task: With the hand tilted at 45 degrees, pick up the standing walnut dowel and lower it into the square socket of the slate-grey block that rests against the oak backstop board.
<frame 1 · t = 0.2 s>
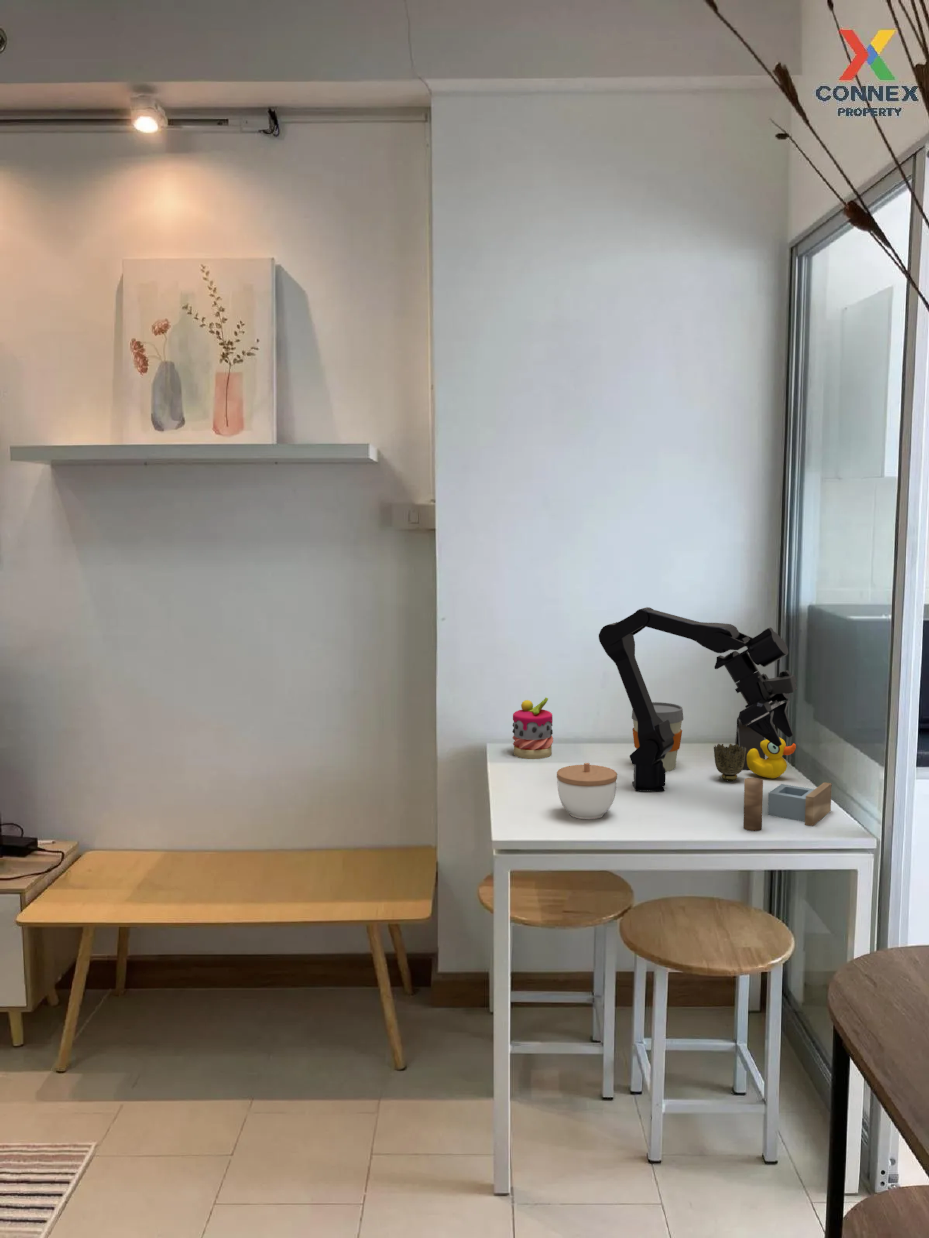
hand: (785, 741, 219), 15 cm above the table, tool tilted 35°, fingers open, 9 cm apart
cake: (532, 754, 268), on the table
backstop board: (818, 817, 214), on the table
dowel: (752, 828, 208), on the table
cup: (729, 780, 242), on the table
reusable coffee cup: (656, 767, 254), on the table
duckling: (769, 778, 244), on the table
socket block: (793, 814, 217), on the table
lidded bowl: (586, 815, 218), on the table
phone stand: (749, 766, 255), on the table
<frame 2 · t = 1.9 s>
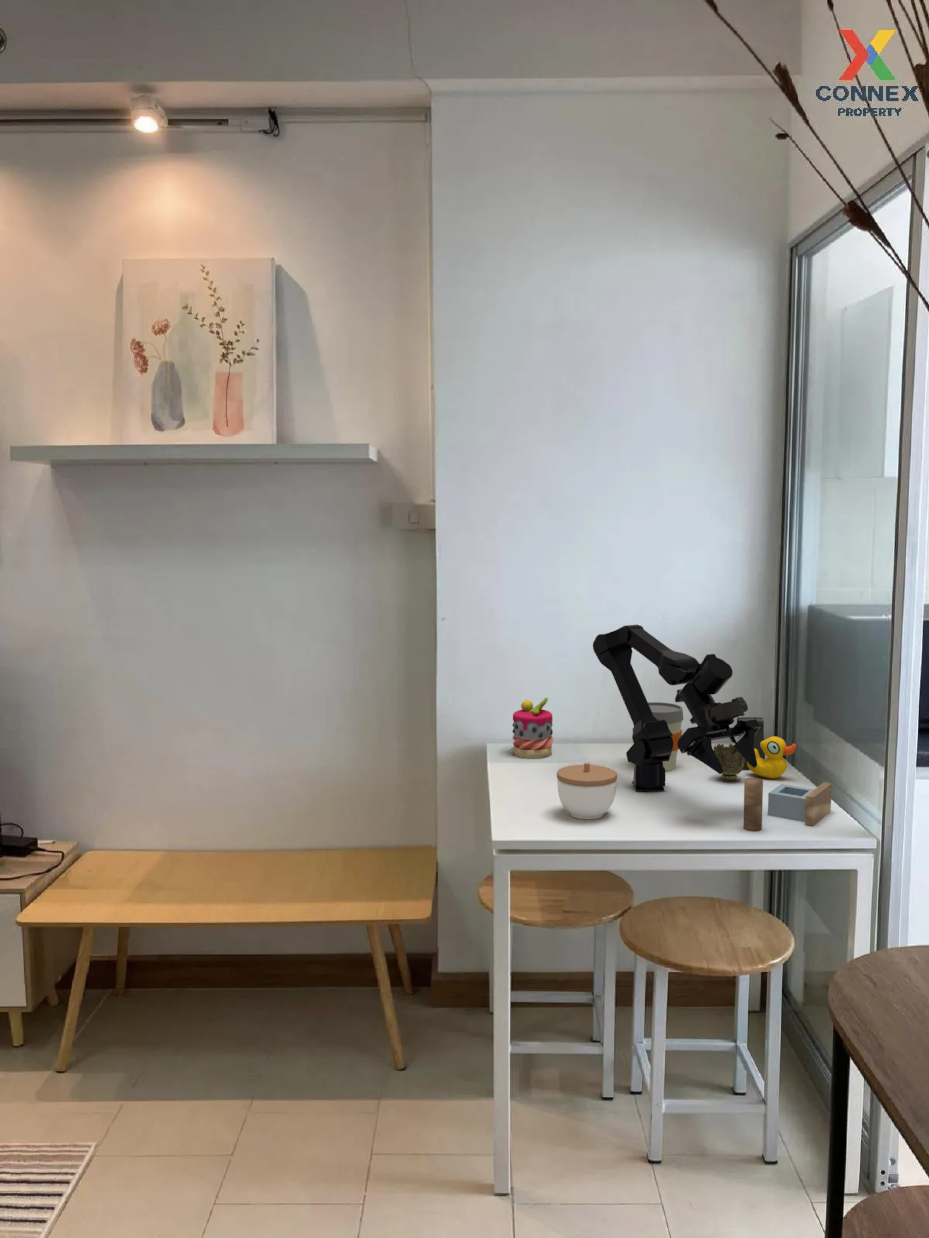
hand: (738, 769, 210), 11 cm above the table, tool tilted 45°, fingers open, 9 cm apart
nothing on the table moved.
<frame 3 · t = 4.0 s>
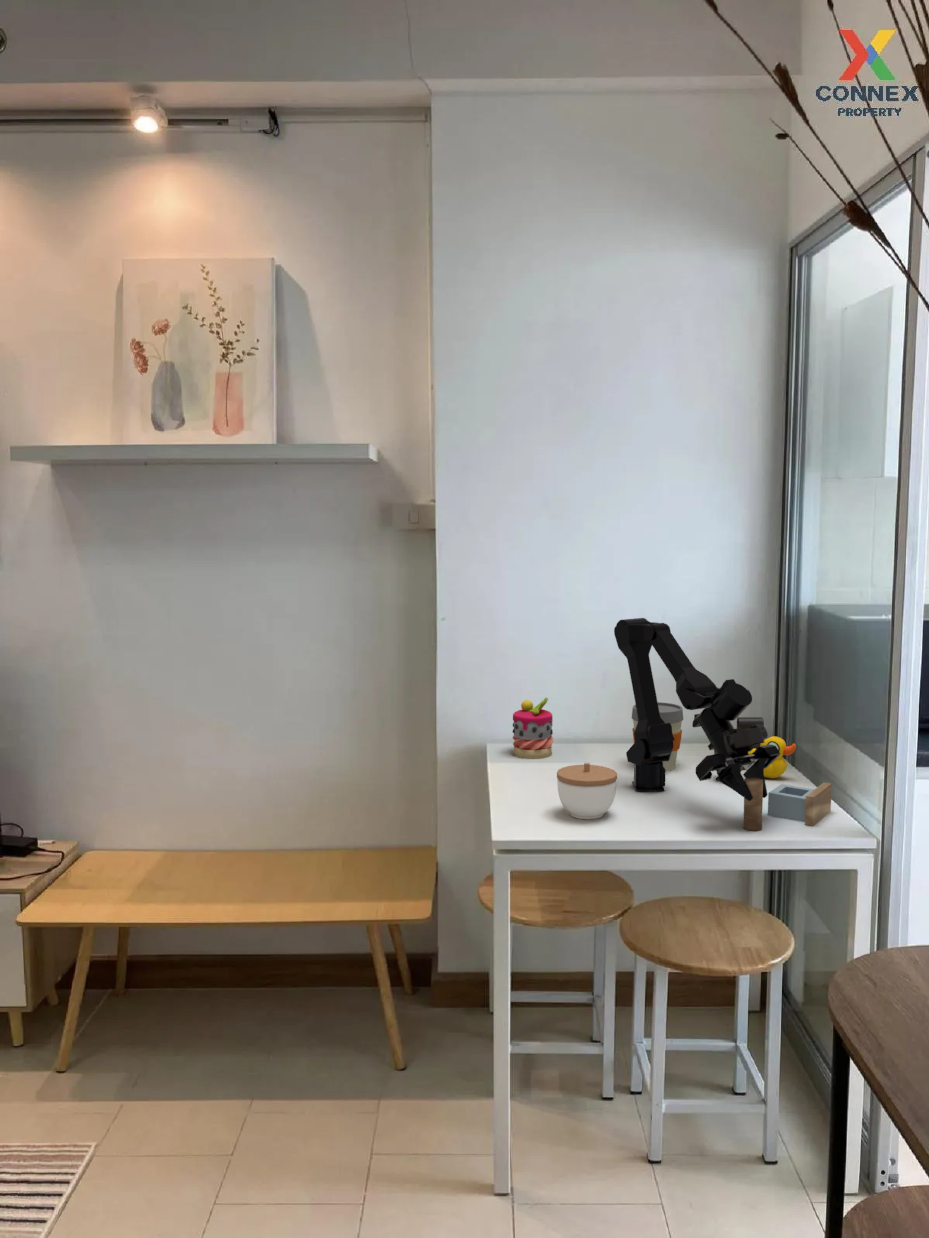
hand: (758, 798, 206), 7 cm above the table, tool tilted 45°, fingers closed on dowel, 4 cm apart
dowel: (752, 828, 208), on the table, touching gripper
everything else where it was.
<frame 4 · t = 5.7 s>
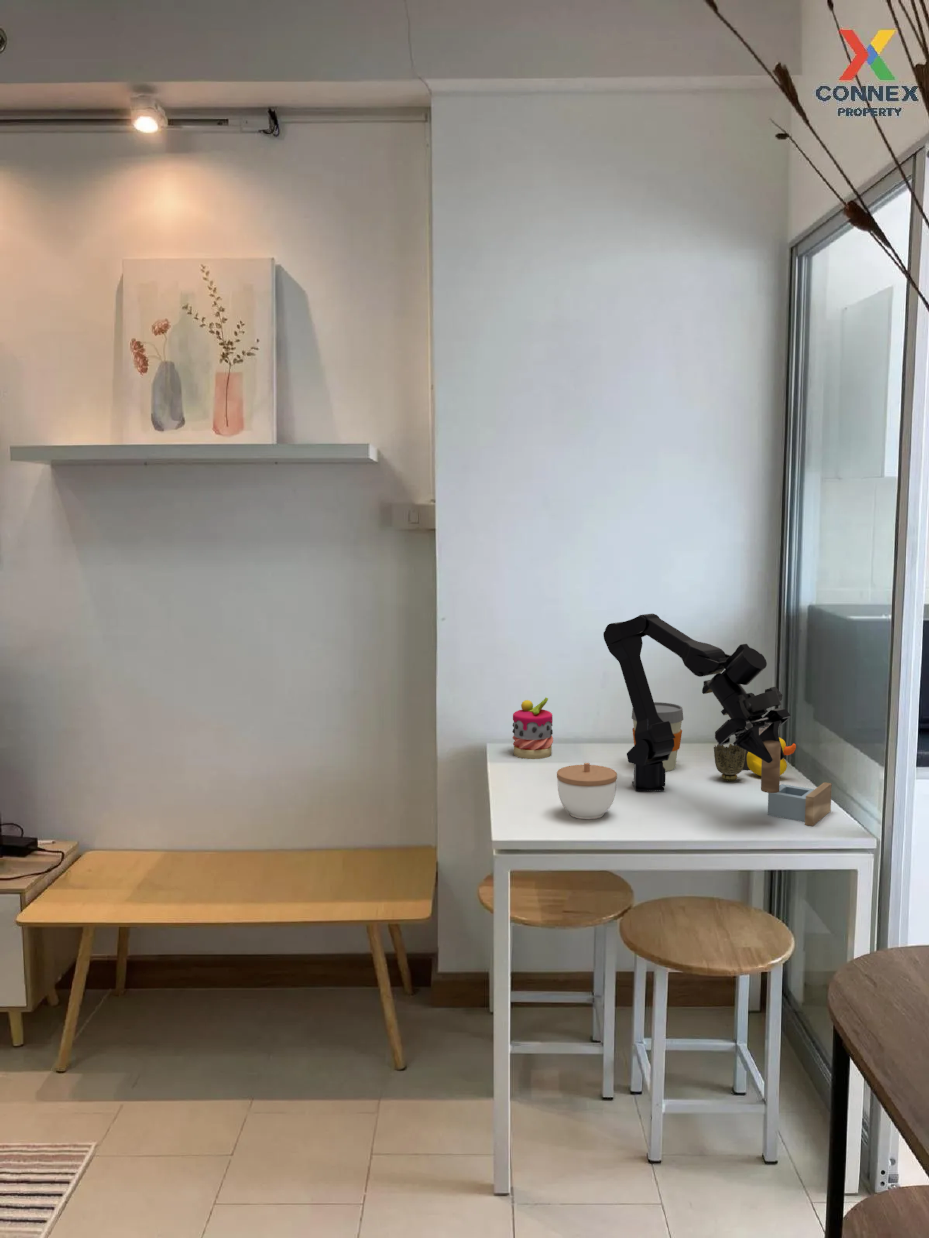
hand: (776, 760, 208), 14 cm above the table, tool tilted 45°, fingers closed on dowel, 4 cm apart
dowel: (770, 790, 210), point 7 cm above the table, touching gripper
everything else where it was.
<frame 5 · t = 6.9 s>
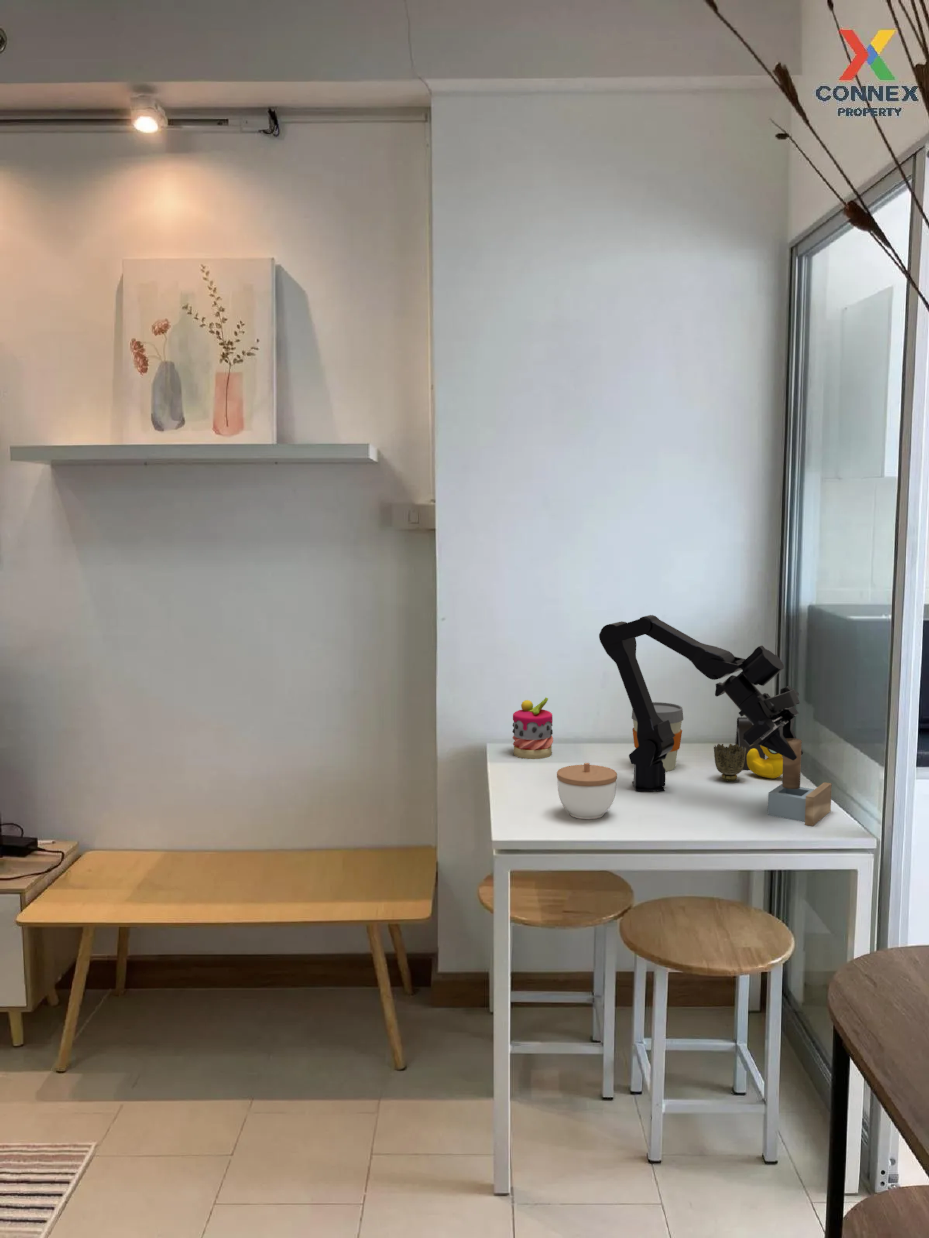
hand: (798, 757, 215), 12 cm above the table, tool tilted 45°, fingers closed on dowel, 4 cm apart
dowel: (791, 786, 217), point 6 cm above the table, touching gripper
everything else where it was.
when the fingers open (10 cm above the table, at t = 7.7 s): dowel drops 2 cm, resting on socket block.
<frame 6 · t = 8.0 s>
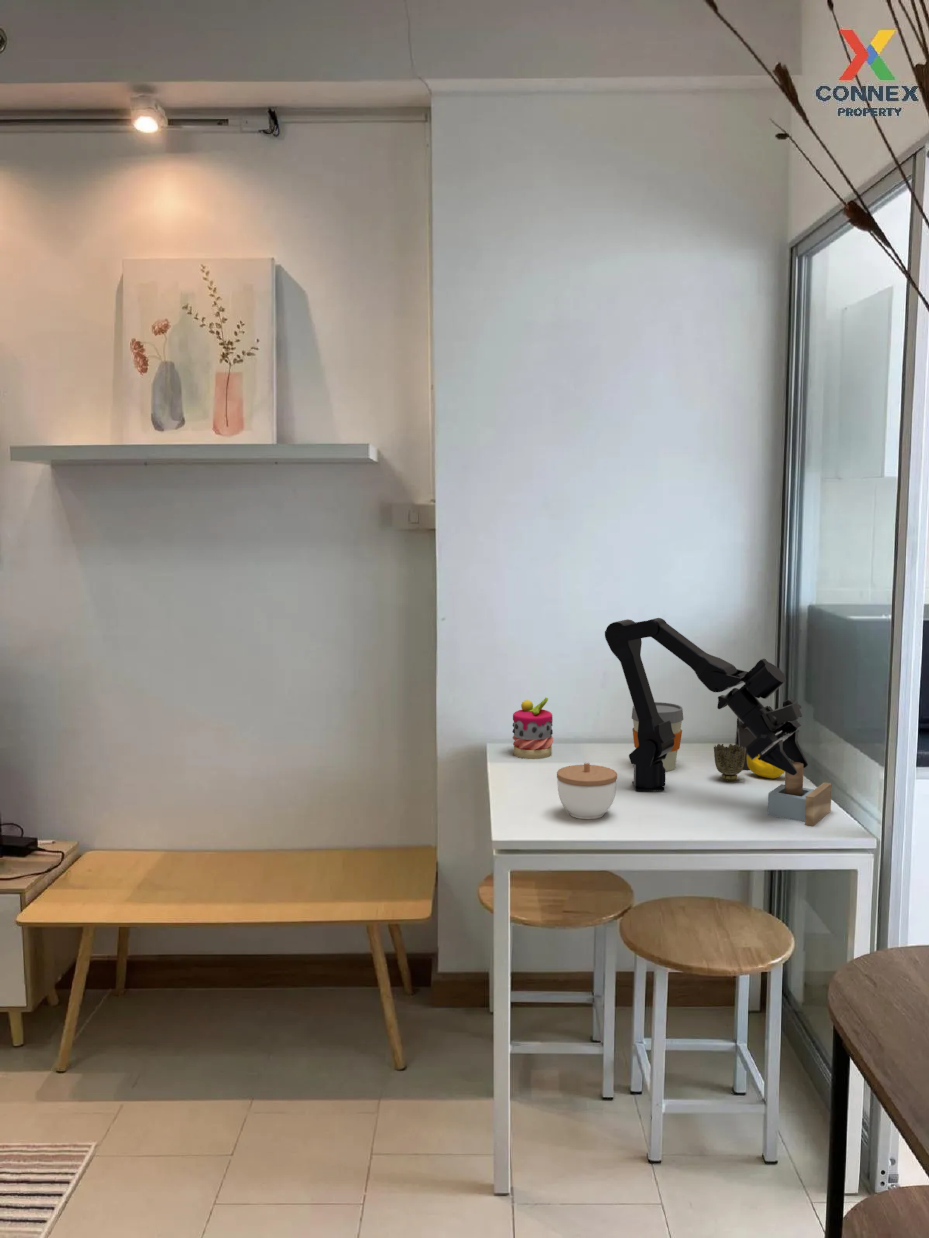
hand: (801, 770, 215), 10 cm above the table, tool tilted 45°, fingers open, 7 cm apart
dowel: (793, 810, 217), point 1 cm above the table, touching socket block
socket block: (793, 814, 217), on the table, touching dowel
everything else where it was.
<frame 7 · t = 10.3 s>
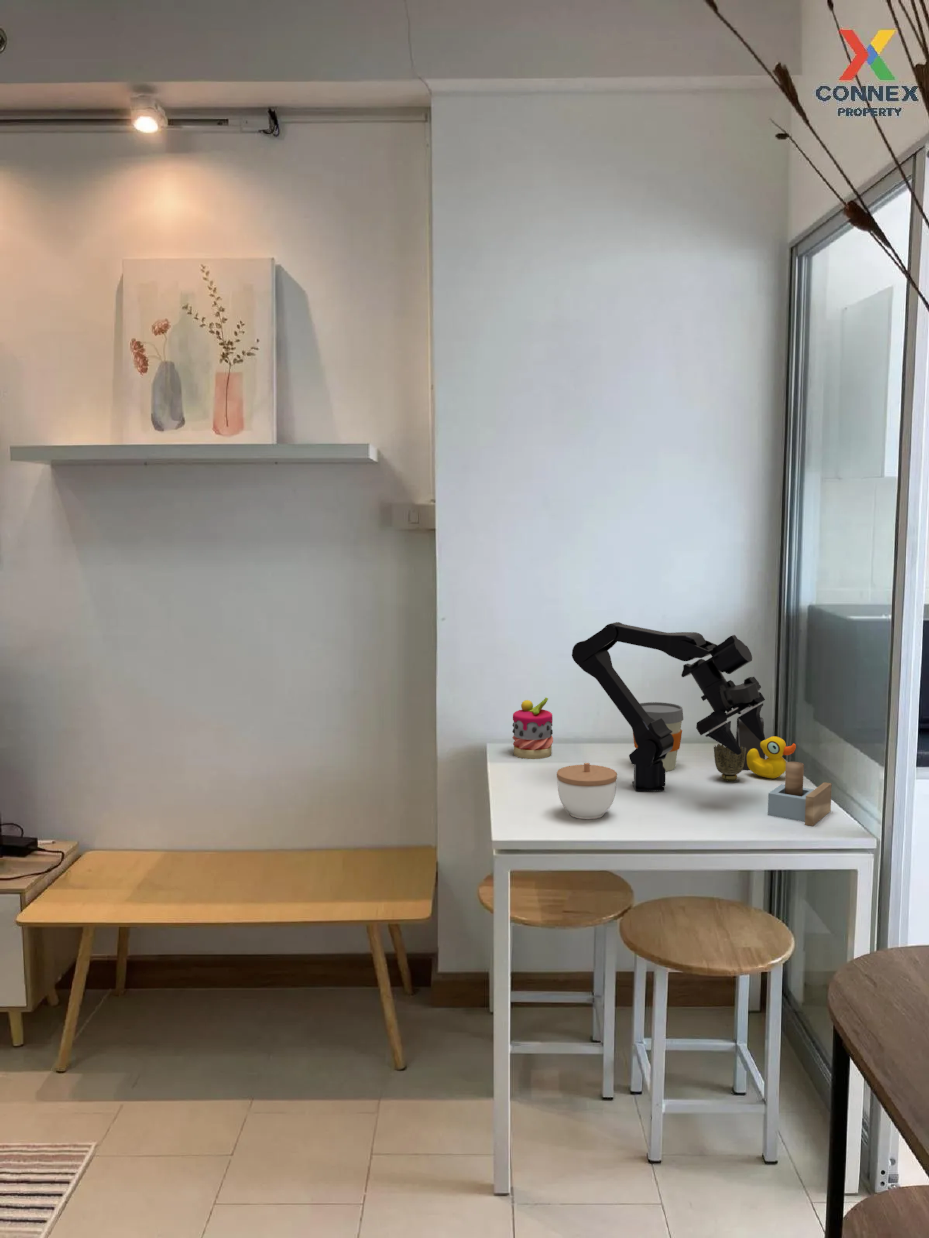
hand: (751, 747, 221), 13 cm above the table, tool tilted 35°, fingers open, 9 cm apart
nothing on the table moved.
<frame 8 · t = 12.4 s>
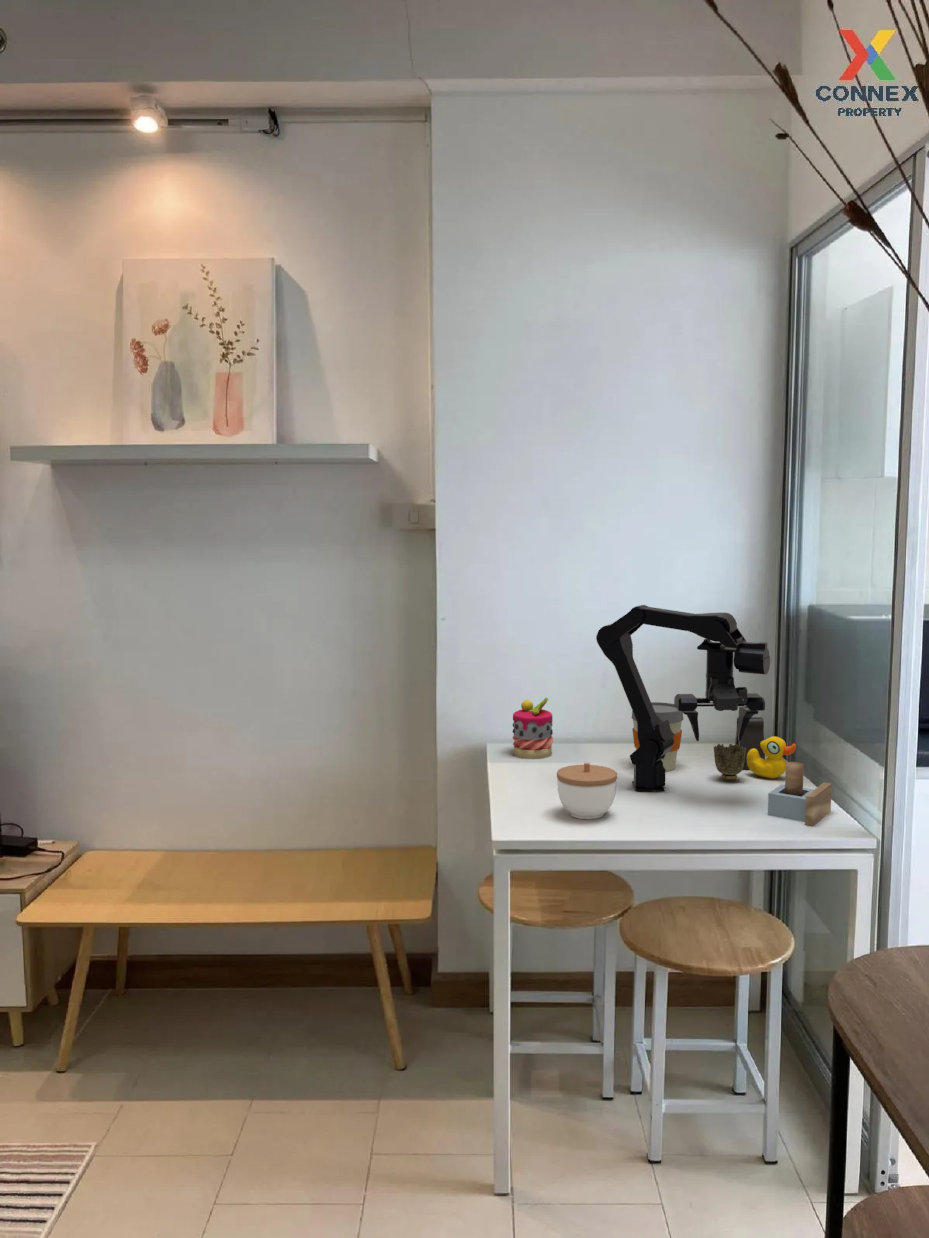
hand: (718, 740, 227), 13 cm above the table, tool pointing down, fingers open, 9 cm apart
nothing on the table moved.
at the end: dowel 0.0 cm off-centre on the socket block, point 1.0 cm above the socket block's base; dowel tilted 0°; socket block moved 0.3 cm from its start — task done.
